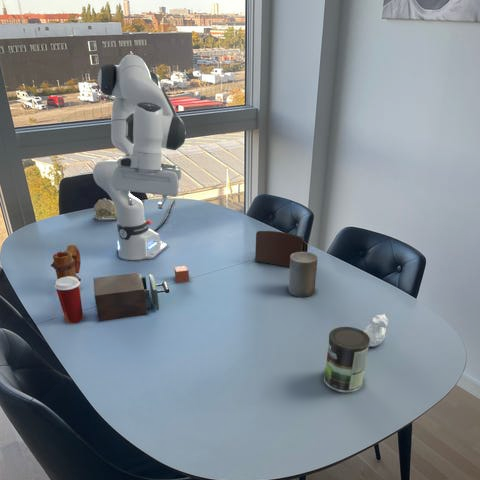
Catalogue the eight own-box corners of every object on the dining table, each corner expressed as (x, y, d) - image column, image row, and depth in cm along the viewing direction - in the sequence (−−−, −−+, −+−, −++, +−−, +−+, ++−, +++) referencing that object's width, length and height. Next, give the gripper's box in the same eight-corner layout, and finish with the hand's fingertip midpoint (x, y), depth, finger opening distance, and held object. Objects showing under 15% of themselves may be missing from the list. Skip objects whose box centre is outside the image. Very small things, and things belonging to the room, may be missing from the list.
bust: (359, 356, 139) (384, 341, 130) (344, 335, 141) (368, 319, 132) (382, 342, 146) (407, 326, 137) (368, 322, 148) (391, 305, 139)
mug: (73, 297, 167) (65, 258, 159) (52, 294, 168) (43, 256, 161) (92, 279, 179) (85, 242, 171) (72, 277, 181) (65, 241, 173)
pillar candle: (317, 288, 173) (321, 250, 166) (309, 299, 166) (313, 260, 158) (293, 283, 177) (295, 246, 169) (284, 294, 169) (286, 255, 162)
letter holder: (300, 269, 188) (303, 236, 181) (254, 261, 194) (255, 229, 187) (307, 260, 196) (309, 227, 189) (262, 253, 202) (263, 221, 195)
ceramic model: (90, 219, 240) (86, 200, 235) (99, 213, 249) (96, 194, 244) (116, 221, 238) (113, 202, 233) (124, 214, 247) (121, 195, 242)
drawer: (166, 292, 168) (164, 272, 164) (172, 308, 158) (170, 287, 154) (112, 299, 164) (109, 279, 160) (115, 316, 153) (111, 295, 149)
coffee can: (329, 394, 121) (334, 349, 114) (319, 370, 130) (324, 327, 123) (367, 392, 122) (375, 347, 114) (356, 368, 131) (362, 325, 123)
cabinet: (142, 296, 167) (139, 272, 162) (147, 315, 156) (144, 289, 151) (97, 302, 163) (93, 277, 158) (99, 321, 152) (94, 295, 147)
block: (186, 276, 182) (186, 265, 180) (189, 281, 178) (188, 270, 176) (175, 277, 181) (174, 266, 178) (177, 282, 177) (176, 271, 175)
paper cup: (91, 315, 155) (84, 277, 148) (77, 326, 149) (69, 287, 142) (71, 311, 158) (63, 274, 150) (56, 322, 151) (47, 284, 144)
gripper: (182, 164, 145) (179, 208, 152) (115, 156, 143) (115, 201, 149) (180, 167, 140) (177, 213, 146) (111, 159, 138) (111, 205, 144)
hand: (145, 207), depth 148 cm, fingers open, 8 cm apart
